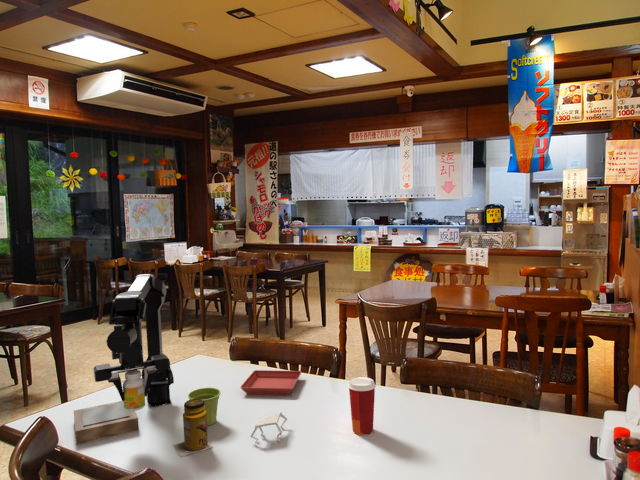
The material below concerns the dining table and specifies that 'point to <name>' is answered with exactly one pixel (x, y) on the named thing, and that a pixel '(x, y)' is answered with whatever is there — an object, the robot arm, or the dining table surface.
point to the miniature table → (269, 423)
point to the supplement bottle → (133, 391)
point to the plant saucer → (271, 382)
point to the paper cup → (362, 404)
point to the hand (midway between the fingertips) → (134, 398)
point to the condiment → (194, 428)
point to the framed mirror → (103, 422)
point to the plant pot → (207, 401)
